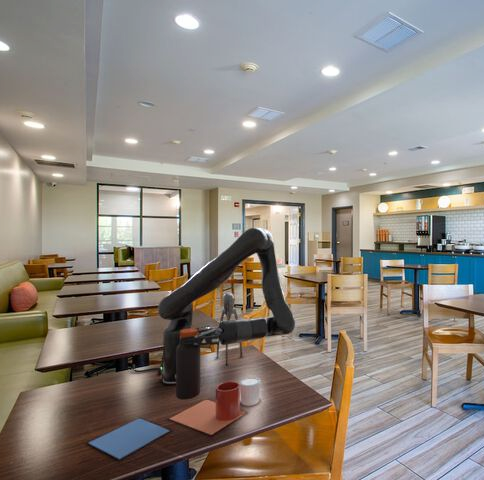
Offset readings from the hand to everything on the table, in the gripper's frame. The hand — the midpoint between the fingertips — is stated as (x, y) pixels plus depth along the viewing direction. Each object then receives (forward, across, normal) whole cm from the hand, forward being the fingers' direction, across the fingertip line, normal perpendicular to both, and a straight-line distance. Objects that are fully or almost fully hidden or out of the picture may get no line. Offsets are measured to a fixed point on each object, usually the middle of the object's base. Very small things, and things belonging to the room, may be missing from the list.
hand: (179, 339), depth 105 cm
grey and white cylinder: (-22, +1, +25) cm, 33 cm away
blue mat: (+13, +3, +24) cm, 28 cm away
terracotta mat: (-8, +3, +24) cm, 26 cm away
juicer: (-25, -44, +25) cm, 56 cm away
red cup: (-13, +6, +24) cm, 28 cm away
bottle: (-3, 0, +18) cm, 18 cm away
